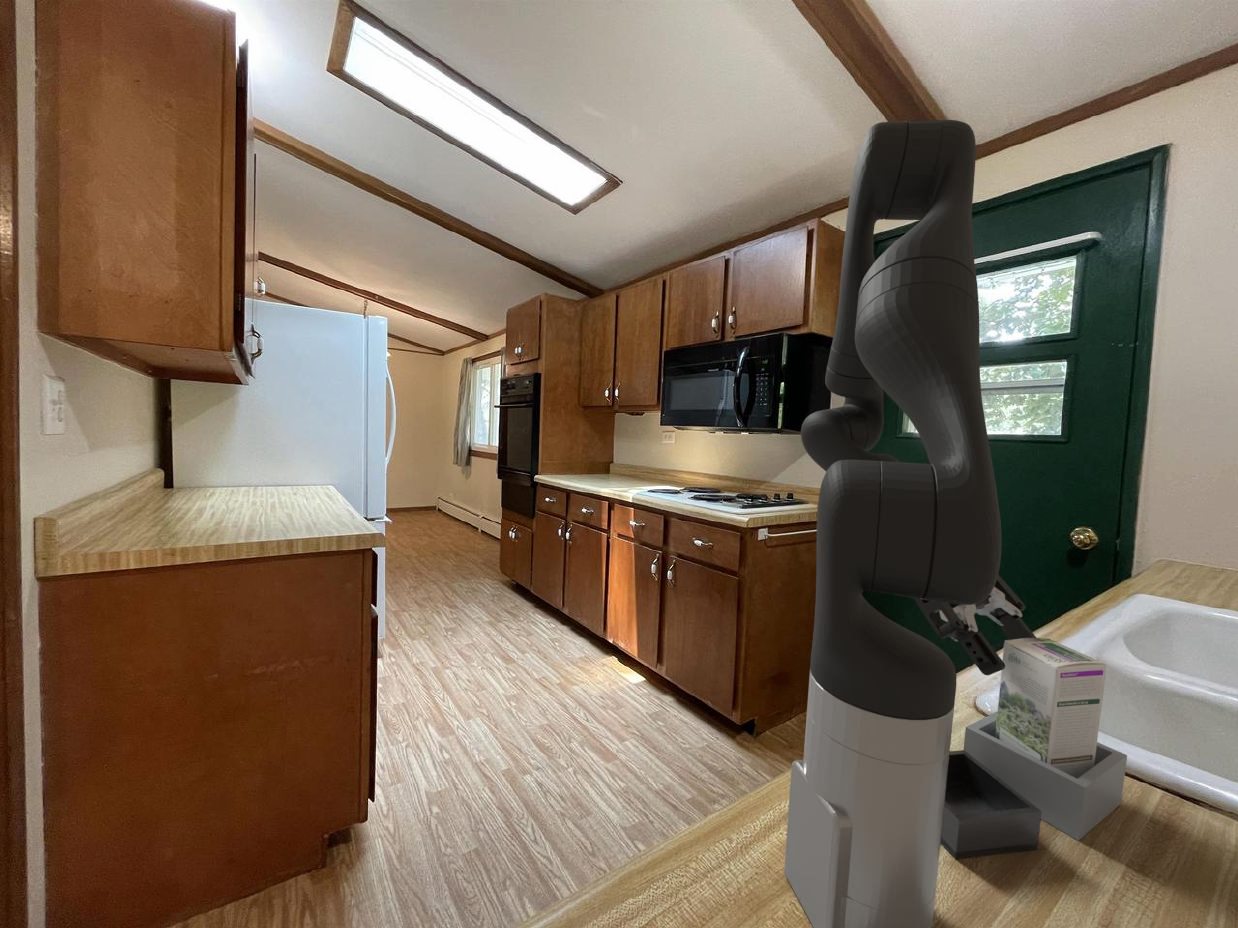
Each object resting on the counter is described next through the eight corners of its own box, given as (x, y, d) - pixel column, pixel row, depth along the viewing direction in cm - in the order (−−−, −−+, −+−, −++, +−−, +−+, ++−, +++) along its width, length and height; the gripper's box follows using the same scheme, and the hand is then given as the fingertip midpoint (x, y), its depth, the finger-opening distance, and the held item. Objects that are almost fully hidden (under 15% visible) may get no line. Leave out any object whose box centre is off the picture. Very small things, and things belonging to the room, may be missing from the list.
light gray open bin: (1078, 840, 44) (1085, 787, 44) (961, 772, 53) (965, 726, 52) (1120, 803, 49) (1127, 755, 48) (1006, 746, 57) (1011, 704, 57)
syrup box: (1093, 806, 48) (1111, 662, 47) (1040, 811, 47) (1057, 664, 46) (1036, 766, 54) (1051, 636, 53) (987, 769, 53) (1002, 637, 52)
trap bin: (955, 858, 42) (959, 819, 42) (889, 788, 50) (892, 755, 49) (1037, 849, 43) (1041, 811, 43) (960, 782, 51) (963, 749, 51)
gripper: (904, 518, 55) (1016, 664, 46) (973, 510, 62) (1082, 636, 53) (857, 553, 60) (950, 691, 51) (925, 542, 67) (1017, 662, 58)
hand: (1017, 663), depth 52 cm, fingers open, 8 cm apart
